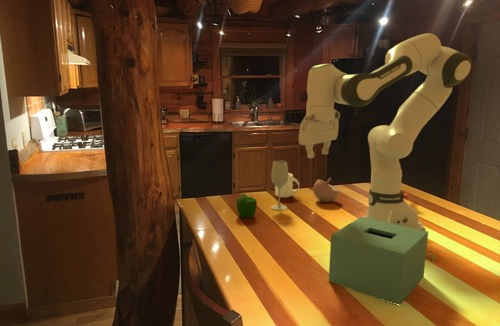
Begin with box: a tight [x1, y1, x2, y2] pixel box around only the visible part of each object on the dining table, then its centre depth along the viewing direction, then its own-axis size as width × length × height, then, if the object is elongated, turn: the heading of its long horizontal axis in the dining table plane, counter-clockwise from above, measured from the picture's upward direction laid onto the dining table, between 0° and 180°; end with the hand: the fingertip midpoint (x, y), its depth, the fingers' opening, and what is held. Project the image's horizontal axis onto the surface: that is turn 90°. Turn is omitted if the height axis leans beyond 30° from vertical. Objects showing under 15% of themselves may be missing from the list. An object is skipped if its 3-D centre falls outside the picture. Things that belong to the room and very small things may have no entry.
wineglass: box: [270, 160, 289, 211], centre depth 179 cm, size 8×8×21 cm
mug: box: [274, 172, 300, 199], centre depth 199 cm, size 9×12×11 cm
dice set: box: [426, 252, 438, 261], centre depth 131 cm, size 5×5×2 cm
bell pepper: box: [236, 193, 258, 219], centre depth 168 cm, size 8×8×10 cm
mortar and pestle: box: [312, 177, 340, 203], centre depth 190 cm, size 12×12×12 cm
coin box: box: [328, 216, 429, 306], centre depth 114 cm, size 20×20×14 cm
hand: (318, 155), depth 135 cm, fingers open, 8 cm apart
